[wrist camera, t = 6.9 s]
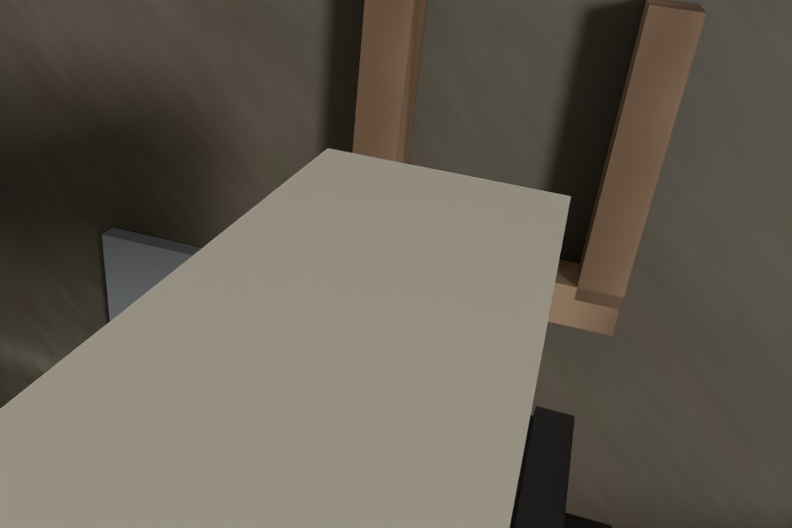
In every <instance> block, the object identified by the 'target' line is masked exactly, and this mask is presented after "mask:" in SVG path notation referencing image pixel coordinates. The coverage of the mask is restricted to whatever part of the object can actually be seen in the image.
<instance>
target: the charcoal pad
mask: <svg viewBox="0 0 792 528" xmlns="http://www.w3.org/2000/svg"><path fill="white" fill-rule="evenodd" d="M102 241H103V252H104V263H105V274H106V285H107V296H108V307H109V318H110V321H111V320H113V319H114V318H115V317H116V316H118V315H119V314H120V313H121V312H123V311H124V310H125V309H126V308H128V307H129V306H130V305H131V304H133V303H134V302H135V301H136V300H138V299H139V298H140V297H141V296H143V295H144V294H145V293H146V292H148V291H149V290H150V289H152V288H153V287H154V286H155V285H157V284H158V283H159V282H160V281H162V280H163V279H164V278H165V277H167V276H168V275H169V274H170V273H172V272H173V271H174V270H175V269H177V268H178V267H179V266H180V265H182V264H183V263H184V262H185V261H187V260H188V259H189V258H190V257H192V256H193V255H194V254H195V253H197V252H198V251H199V250H200V249H202V248H200V247H196V246H192V245H187V244H183V243H179V242H174V241H170V240H166V239H161V238H157V237H152V236H148V235H144V234H139V233H135V232H131V231H126V230H122V229H118V228H111V229H110V230H108V231H106V232H105V233H103V234H102Z"/></svg>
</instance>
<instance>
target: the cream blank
mask: <svg viewBox="0 0 792 528" xmlns="http://www.w3.org/2000/svg"><path fill="white" fill-rule="evenodd" d="M570 199H571V196H567V195H562V194H557V193H552V192H547V191H542V190H537V189H532V188H527V187H522V186H517V185H512V184H506V183H501V182H496V181H491V180H486V179H481V178H476V177H471V176H466V175H461V174H456V173H451V172H446V171H441V170H436V169H431V168H426V167H420V166H415V165H410V164H405V163H400V162H395V161H390V160H385V159H380V158H375V157H370V156H365V155H360V154H355V153H350V152H345V151H340V150H335V149H329V148H327V149H326V150H325V151H324V152H322V153H321V154H320V155H319V156H317V157H316V158H315V159H314V160H312V161H311V162H310V163H309V164H307V165H306V166H305V167H303V168H302V169H301V170H300V171H298V172H297V173H296V174H295V175H293V176H292V177H291V178H290V179H288V180H287V181H286V182H285V183H283V184H282V185H281V186H280V187H278V188H277V189H276V190H275V191H273V192H272V193H271V194H270V195H268V196H267V197H266V198H265V199H263V200H262V201H261V202H260V203H258V204H257V205H256V206H254V207H253V208H252V209H251V210H249V211H248V212H247V213H246V214H244V215H243V216H242V217H241V218H239V219H238V220H237V221H236V222H234V223H233V224H232V225H231V226H229V227H228V228H227V229H226V230H224V231H223V232H222V233H221V234H219V235H218V236H217V237H216V238H214V239H213V240H212V241H211V242H209V243H208V244H207V245H206V246H204V247H203V248H202V249H200V250H199V251H198V252H197V253H195V254H194V255H193V256H192V257H190V258H189V259H188V260H187V261H185V262H184V263H183V264H182V265H180V266H179V267H178V268H177V269H175V270H174V271H173V272H172V273H170V274H169V275H168V276H167V277H165V278H164V279H163V280H162V281H160V282H159V283H158V284H157V285H155V286H154V287H153V288H152V289H150V290H149V291H148V292H146V293H145V294H144V295H143V296H141V297H140V298H139V299H138V300H136V301H135V302H134V303H133V304H131V305H130V306H129V307H128V308H126V309H125V310H124V311H123V312H121V313H120V314H119V315H118V316H116V317H115V318H114V319H113V320H111V321H110V322H109V323H108V324H106V325H105V326H104V327H103V328H101V329H100V330H99V331H97V332H96V333H95V334H94V335H92V336H91V337H90V338H89V339H87V340H86V341H85V342H84V343H82V344H81V345H80V346H79V347H77V348H76V349H75V350H74V351H72V352H71V353H70V354H69V355H67V356H66V357H65V358H64V359H62V360H61V361H60V362H59V363H57V364H56V365H55V366H54V367H52V368H51V369H50V370H48V371H47V372H46V373H45V374H43V375H42V376H41V377H40V378H38V379H37V380H36V381H35V382H33V383H32V384H31V385H30V386H28V387H27V388H26V389H25V390H23V391H22V392H21V393H20V394H18V395H17V396H16V397H15V398H13V399H12V400H11V401H10V402H8V403H7V404H6V405H5V406H3V407H2V408H1V409H0V528H510V522H511V517H512V512H513V506H514V501H515V495H516V490H517V485H518V479H519V474H520V469H521V463H522V458H523V452H524V447H525V442H526V436H527V431H528V425H529V420H530V415H531V409H532V404H533V399H534V393H535V388H536V382H537V377H538V372H539V366H540V361H541V355H542V350H543V345H544V339H545V334H546V328H547V323H548V318H549V312H550V307H551V302H552V296H553V291H554V285H555V280H556V275H557V269H558V264H559V258H560V253H561V248H562V242H563V237H564V232H565V226H566V221H567V215H568V210H569V205H570Z"/></svg>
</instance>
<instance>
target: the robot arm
mask: <svg viewBox="0 0 792 528" xmlns="http://www.w3.org/2000/svg"><path fill="white" fill-rule="evenodd" d="M573 428H574V416H573V415H569V414H565V413H561V412H557V411H553V410H549V409H546V408H542V407H538V406H536V408H535V411H534V415H533V416H531V415H530V420H529V425H528V431H527V436H526V442H525V447H524V452H523V458H522V463H521V469H520V474H519V479H518V485H517V490H516V495H515V501H514V506H513V512H512V517H511V522H510V528H612V526H611V525H607V524H604V523H600V522H597V521H593V520H590V519H586V518H582V517H579V516H575V515H572V514H568V513H565V510H566V500H567V490H568V480H569V469H570V459H571V449H572V439H573Z"/></svg>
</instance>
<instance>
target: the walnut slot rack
mask: <svg viewBox="0 0 792 528" xmlns="http://www.w3.org/2000/svg"><path fill="white" fill-rule="evenodd" d="M426 7H427V0H365V3H364V16H363V28H362V40H361V53H360V65H359V77H358V90H357V102H356V114H355V126H354V139H353V151H352V153H355V154H360V155H365V156H370V157H375V158H380V159H385V160H390V161H395V162H400V163H405V164H408V158H409V150H410V141H411V133H412V125H413V116H414V108H415V99H416V91H417V83H418V74H419V66H420V57H421V49H422V41H423V32H424V24H425V16H426ZM705 16H706V12H705V11H704V9H703V8H702V7H701V6H700V5H697V4H690V3H683V2H676V1H669V0H646V2H645V6H644V10H643V14H642V18H641V22H640V26H639V30H638V34H637V38H636V42H635V46H634V50H633V54H632V58H631V62H630V66H629V70H628V74H627V78H626V82H625V86H624V90H623V94H622V98H621V102H620V106H619V110H618V114H617V117H616V121H615V125H614V129H613V133H612V137H611V141H610V145H609V149H608V153H607V157H606V161H605V165H604V169H603V173H602V177H601V181H600V185H599V189H598V193H597V197H596V201H595V205H594V209H593V213H592V217H591V221H590V225H589V229H588V233H587V236H586V240H585V244H584V248H583V252H582V256H581V260H580V263H575V262H570V261H566V260H561V259H559V264H558V269H557V275H556V280H555V285H554V291H553V296H552V302H551V307H550V312H549V318H548V322H553V323H557V324H561V325H566V326H570V327H575V328H579V329H583V330H588V331H592V332H597V333H601V334H605V335H610V336H613V332H614V329H615V325H616V322H617V319H618V315H619V312H620V308H621V305H622V301H623V298H624V295H625V291H626V288H627V284H628V281H629V277H630V274H631V271H632V267H633V264H634V260H635V257H636V253H637V250H638V246H639V243H640V240H641V236H642V233H643V229H644V226H645V222H646V219H647V216H648V212H649V209H650V205H651V202H652V198H653V195H654V191H655V188H656V185H657V181H658V178H659V174H660V171H661V167H662V164H663V161H664V157H665V154H666V150H667V147H668V143H669V140H670V136H671V133H672V130H673V126H674V123H675V119H676V116H677V112H678V109H679V106H680V102H681V99H682V95H683V92H684V88H685V85H686V81H687V78H688V75H689V71H690V68H691V64H692V61H693V57H694V54H695V51H696V47H697V44H698V40H699V37H700V33H701V30H702V26H703V23H704V20H705Z"/></svg>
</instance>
